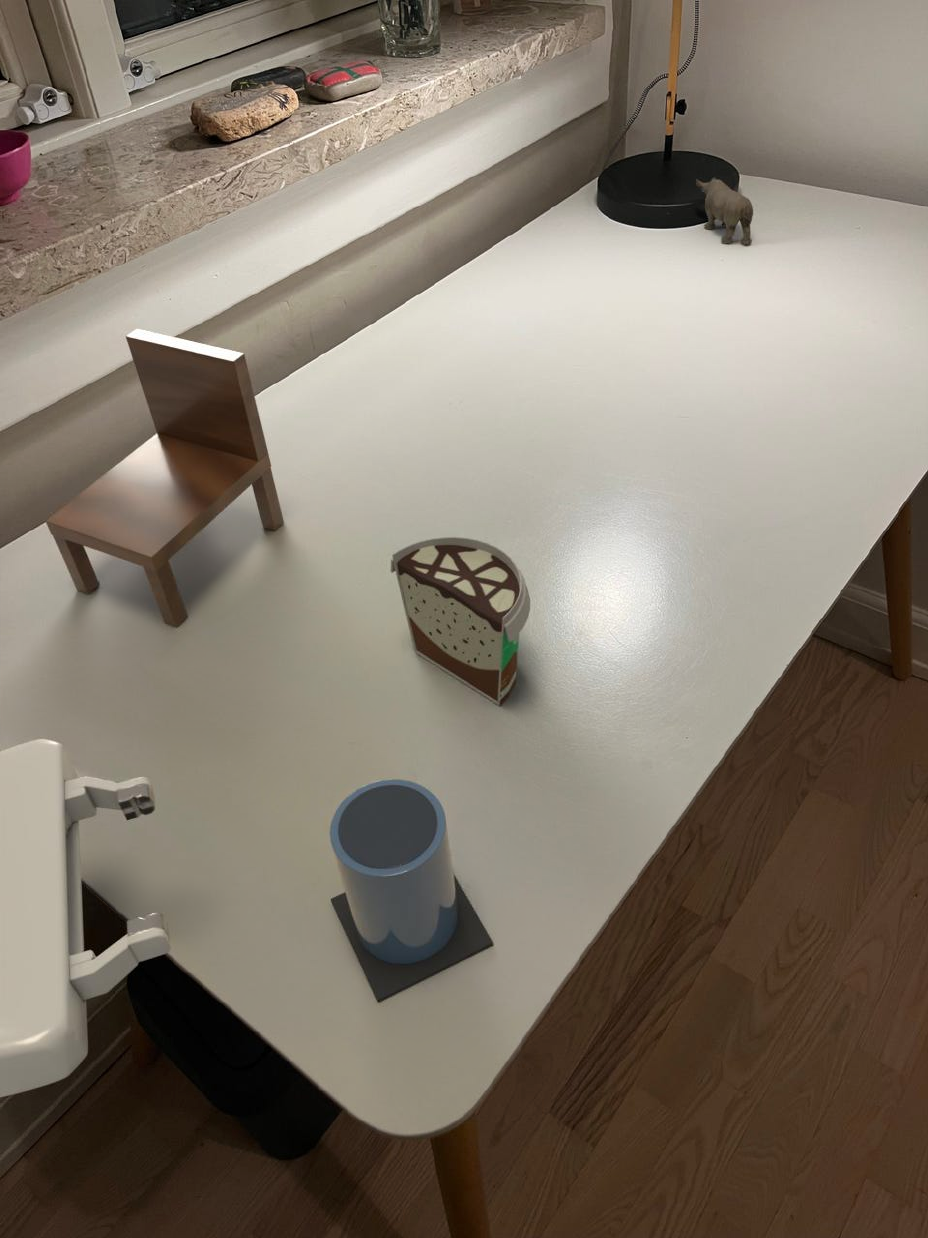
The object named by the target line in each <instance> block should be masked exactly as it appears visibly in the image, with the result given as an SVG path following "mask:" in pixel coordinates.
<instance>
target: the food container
mask: <svg viewBox="0 0 928 1238" xmlns="http://www.w3.org/2000/svg"><path fill="white" fill-rule="evenodd" d="M394 572H395V574H396V579H397V583H398V587H399V591H400V596H401V600H402V605H403V608H404V613H405V617H406V622H407V625H408V630H409V634H410V638H411V642H412V647H413V651H414V653H415V654H416V655H418V656H419V657H421V658H423V659H424V660H426V661H427V662H429V663H431V664H432V665H434V666H435V667H436V668H438V669H440V670H442V671H443V672H445V673H446V674H447V675H450V676H451V677H452V678H454V679H456V680H457V681H459V682H460V683H462V684H463V685H465V686H467V687H468V688H470V689H471V690H473V691H474V692H476V693H478V694H479V695H481V697H484V698H485V699H487V700H488V701H489V702H492V703H493V704H495V705H496V706H497V707H501V706H502V705H503V704H504V703H505V702H506V701H507V700H508V698H509V697H510V695H511V693H512V691H513V689H514V688H515V685H516V679H517V678H516V677H517V665H518V655H519V643H520V642H519V641H520V633H521V631H523V629H524V628H525V625H526V623H527V621H528V619H529V615H530V612H531V611H530V610H531V597H530V592H529V589H528V586H527V583H526V579H525V578H524V575H523V573H522V571H521V569H520V568H519V567H518V565H517V563H516V562H515V561H514V560H513V558H511V557H510V556H509V555H508V554H507V553H506V552H505V551H503V550H502V549H500V548H498V547H497V546H496V545H493V544H491V543H489V542H486V541H483V540H479V539H474V538H469V537H461V536H443V537H436V538H429V539H424V540H420V541H418V542H415V543H412V544H409V545H406V546H405V547H403V548H401V549H399V550H398V551H396V552H394V553H393V554H392V558H391V559H390V573H391V574H392V573H394Z"/></svg>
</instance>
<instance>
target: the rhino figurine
mask: <svg viewBox="0 0 928 1238" xmlns="http://www.w3.org/2000/svg"><path fill="white" fill-rule="evenodd" d="M695 184H696V186H697V187H699V188H700V189H701V190H702V192H704V193H705V194H706V198H705V206H704V207H705V209H704V210H705V214H706V216H707V219H708V220H707V221H708V222H706V223H705V224H704V226H703V228H704V229H706V230H714V229H715V227H716V223H715V222H716V221H715V220H718V221H719V222H722V223H721V225H720V226H721V227H722V228H726V230H725V234H724V235H723V236H722V237H721V238H720V243H722V244H727V245H728V244H732V242H733V236H734V235H735V232H736V229H737V228H736V227H737V225H738V224H739V223H740V226H741V229H742V234H743V235H742V238H741V239H740V241H739V242H740V244H741V245H744V246H749V245H751V244H752V239H751V224H752V221H753V216H754V207H753V205H752V202H751V200H750V198H748V197H747V196H745V195H743V194H741V193H739V192H737V191H736V190H733V189H731V187H729V186H728V184H726V183H725V182H724V181H722V180H721V179H717V178H716V177H712V178H711V179H710V181H708V182H702V181H700V180H699V179H698V178H696V179H695Z"/></svg>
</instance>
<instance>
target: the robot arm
mask: <svg viewBox="0 0 928 1238" xmlns="http://www.w3.org/2000/svg"><path fill="white" fill-rule="evenodd" d="M155 801H156V800H155V792H154V788H153V785H152V783H151V781H150V779H149V778H148V777H146V776H139V777H135V778H130V779H127V780H124V781H120V782H116V781H113V780H107V779H103V778H98V777H92V776H87V775H84V776H80V777H78V773H77V771H76V769H75V766H74V763H73V762H72V761H71V758H70V756H69V755H68V752H67V751H66V749H65V747H64V746H63V745H62V743H60V742H58V741H55V740H50V739H47V738H38V739H33V740H29V741H26V742H23V743H21V744H17V745H15V746H12V747H8V748H6V749H3V750H1V751H0V1098H3V1097H8V1096H12V1095H16V1094H21V1093H24V1092H27V1091H32V1090H36V1089H38V1088H42V1087H44V1086H48V1085H51V1084H54V1083H57V1082H59V1081H61V1080H64V1079H66V1078H67V1077H69V1076H70V1075H71V1074H72V1073H73V1072H74V1071H75V1070H77V1068H78V1067H79V1066H80V1065H81V1063H82V1062H83V1061H84V1060H85V1059H86V1058H87V1056H88V1053H89V1040H88V1039H89V1038H88V1014H87V1012H88V1011H87V1000H90V999H92V998H96V997H99V996H102V995H105V994H108V993H109V992H110V991H111V990H113V988H114V987H115V986H117V985H118V984H119V983H120V982H121V981H122V980H123V979H124V978H125V977H127V976H128V975H129V974H130V973H131V972H132V971H134V970H135V968H137V966H138V965H139V963H140V962H144V961H147V960H150V959H151V960H152V959H154V958H156V957H159V956H163V955H166V954H167V953H169V952H170V951H171V949H172V947H171V946H172V945H171V937H170V930H169V925H168V922H167V921H166V919H165V916H164V914H163V913H160V912H152V913H149V914H147V915H146V916H145V917H141V916H138V917H135V918H131V919H129V920H126V931H127V933H126V934H125V935H124V936H122V937H121V938H120V939H119V940H117V941H115V943H113V944H112V945H111V946H109V947H108V948H107V949H105V950H104V951H103V952H101V953H100V954H99V955H97V956H96V955H95V952H94V951H93V950H91V949H89V950H86V951H85V937H84V911H83V889H82V888H83V887H82V863H81V862H82V860H81V838H80V821H82V820H86V819H90V818H93V817H95V816H97V813H98V812H97V811H98V810H97V808H98V809H108V810H117V811H122V813H123V816H124V818H125V819H126V821H130V820H134V819H138V818H139V817H141V816H142V815H143V816H147V815H151V814H153V813H155V810H156V804H155V803H156V802H155Z"/></svg>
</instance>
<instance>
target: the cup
mask: <svg viewBox="0 0 928 1238" xmlns="http://www.w3.org/2000/svg"><path fill="white" fill-rule="evenodd" d="M329 839H330V844H331V848H332V851H333V855H334V858H335V862H336V867H337V870H338V872H339V876H340V880H341V884H342V887H343V888H342V889H343V891H344V892H345V895H346V899H347V902H348V906H349V909H350V913H351V917H352V920H353V924H354V927H355V931H356V934H357V937H358V939H359V941H360V943H361V944H362V946H363V947H364V948H365V949H366V950H367V951H368V952H369V953H370V954H372V955H373V956H375V957H376V958H378V959H380V960H383V961H386V962H389V963H395V964H410V963H415V962H419V961H422V960H425V959H427V958H429V957H431V956H433V955H434V954H436V953H437V952H439V951H440V950H441V949H442V948H443V947H444V946H445V945H446V944H447V943H448V941H449V940H450V939H451V937H452V935H453V933H454V932H455V929H456V926H457V922H458V914H459V912H458V902H457V895H456V888H455V881H454V875H455V874H454V868H453V867H454V866H453V862H452V861H453V860H452V859H453V858H452V853H451V845H450V840H449V832H448V825H447V817H446V813H445V810H444V807H443V804H442V803H441V801H440V800H439V798H438V797H437V796H436V794H434V793H433V792H432V791H430V790H429V789H428V788H427V787H425V786H423V785H421V784H419V783H417V782H414V781H410V780H406V779H399V778H397V779H396V778H392V779H391V778H389V779H381V780H376V781H373V782H370V783H367V784H365V785H362V786H360V787H359V788H357V789H356V790H355V791H353V792H351V793H350V794H349V795H347V796H346V798H344V799H343V801H342V802H341V803H340V804H339V805H338V807H337V809H335V812H334V814H333V816H332V819H331V822H330V828H329Z"/></svg>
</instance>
